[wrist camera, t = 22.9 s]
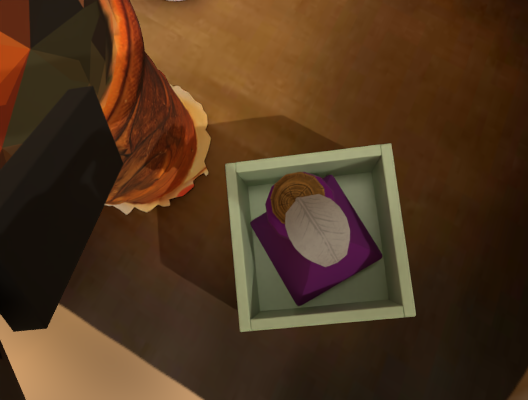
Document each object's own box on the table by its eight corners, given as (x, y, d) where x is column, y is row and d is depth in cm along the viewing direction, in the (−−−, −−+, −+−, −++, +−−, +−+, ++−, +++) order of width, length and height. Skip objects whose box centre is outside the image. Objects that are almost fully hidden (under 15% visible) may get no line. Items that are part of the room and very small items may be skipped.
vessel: (131, 261, 41) (-38, 258, 22) (35, 149, 44) (-193, 55, 24) (249, 150, 42) (189, 47, 22) (147, 45, 44) (12, -133, 24)
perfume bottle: (254, 225, 40) (203, 192, 22) (330, 180, 39) (341, 110, 22) (299, 304, 38) (284, 336, 21) (378, 257, 38) (432, 250, 20)
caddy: (378, 164, 40) (391, 142, 33) (398, 307, 38) (416, 316, 31) (239, 180, 41) (224, 163, 34) (253, 320, 39) (239, 332, 33)
